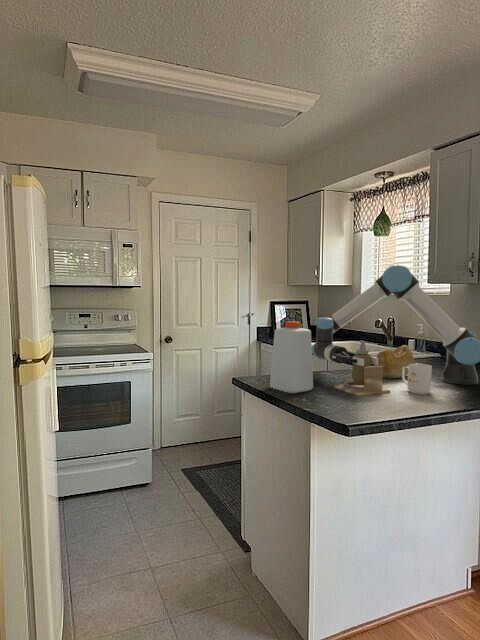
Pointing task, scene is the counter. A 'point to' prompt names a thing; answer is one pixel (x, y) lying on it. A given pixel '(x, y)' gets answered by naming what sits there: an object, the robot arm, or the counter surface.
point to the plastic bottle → (292, 359)
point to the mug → (418, 378)
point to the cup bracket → (366, 383)
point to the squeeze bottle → (358, 369)
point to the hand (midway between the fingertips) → (370, 362)
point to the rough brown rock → (395, 361)
